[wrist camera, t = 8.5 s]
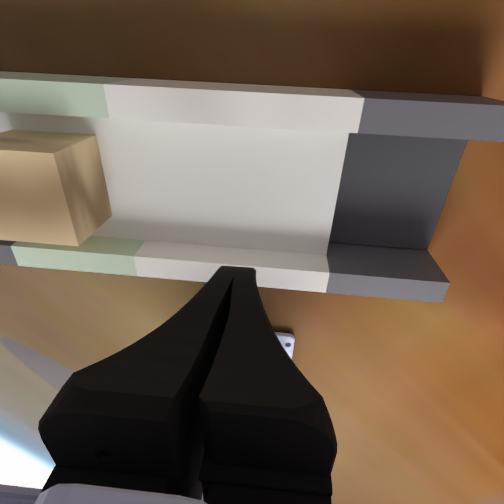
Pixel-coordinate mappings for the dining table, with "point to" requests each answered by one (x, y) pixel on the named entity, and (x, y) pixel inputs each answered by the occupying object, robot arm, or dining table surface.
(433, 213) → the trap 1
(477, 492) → the dining table surface
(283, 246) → the trap box
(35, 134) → the maple block
